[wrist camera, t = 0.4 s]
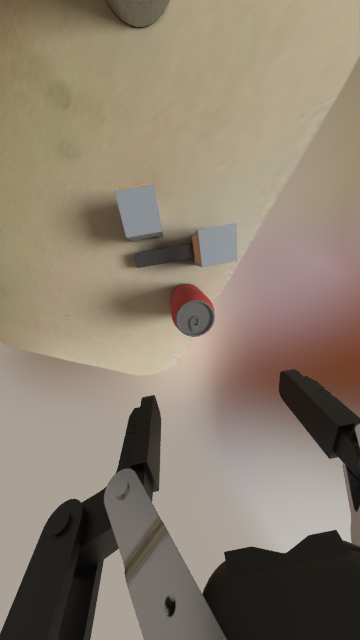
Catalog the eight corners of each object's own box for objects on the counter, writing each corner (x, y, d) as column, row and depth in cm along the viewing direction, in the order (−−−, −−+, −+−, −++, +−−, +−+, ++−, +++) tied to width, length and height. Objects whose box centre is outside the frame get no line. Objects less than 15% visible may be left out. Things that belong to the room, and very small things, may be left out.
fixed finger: (189, 236, 31) (195, 230, 24) (221, 230, 31) (236, 223, 24) (193, 265, 32) (199, 267, 26) (223, 260, 32) (237, 260, 26)
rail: (135, 253, 31) (133, 253, 29) (220, 238, 31) (223, 237, 29) (138, 267, 32) (137, 267, 30) (221, 252, 32) (224, 252, 30)
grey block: (134, 241, 30) (126, 237, 24) (125, 203, 28) (113, 186, 22) (163, 236, 30) (162, 231, 24) (156, 197, 28) (152, 180, 22)
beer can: (169, 312, 35) (170, 338, 24) (172, 281, 33) (174, 293, 22) (199, 315, 36) (213, 341, 25) (204, 284, 34) (222, 298, 23)
